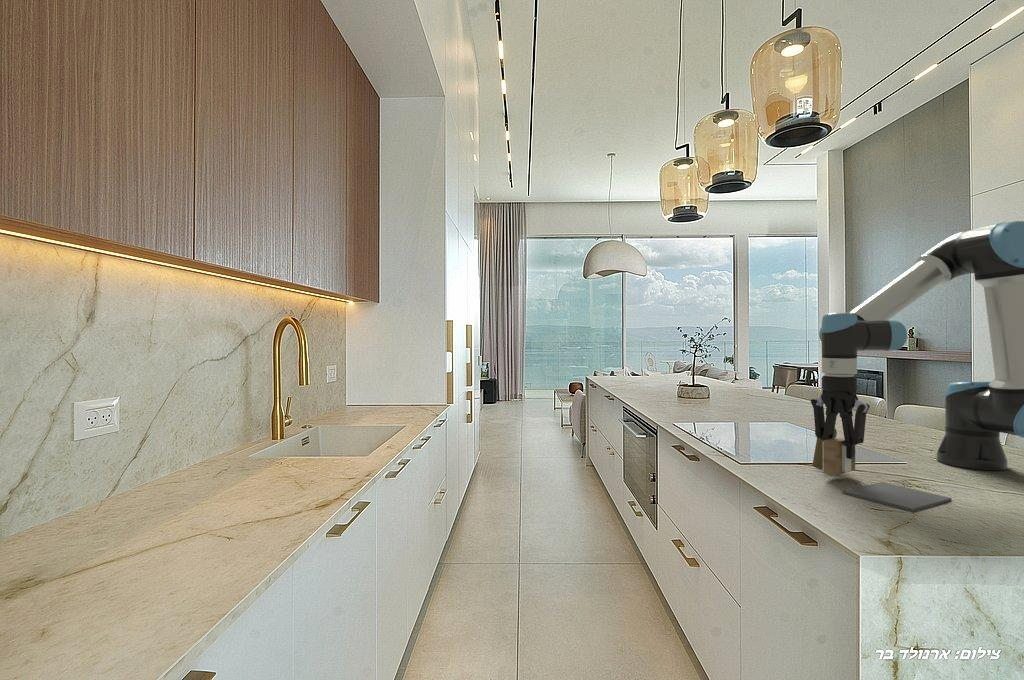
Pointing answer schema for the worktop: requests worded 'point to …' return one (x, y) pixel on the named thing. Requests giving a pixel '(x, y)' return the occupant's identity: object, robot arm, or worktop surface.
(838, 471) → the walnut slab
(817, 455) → the cork
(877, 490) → the mat
